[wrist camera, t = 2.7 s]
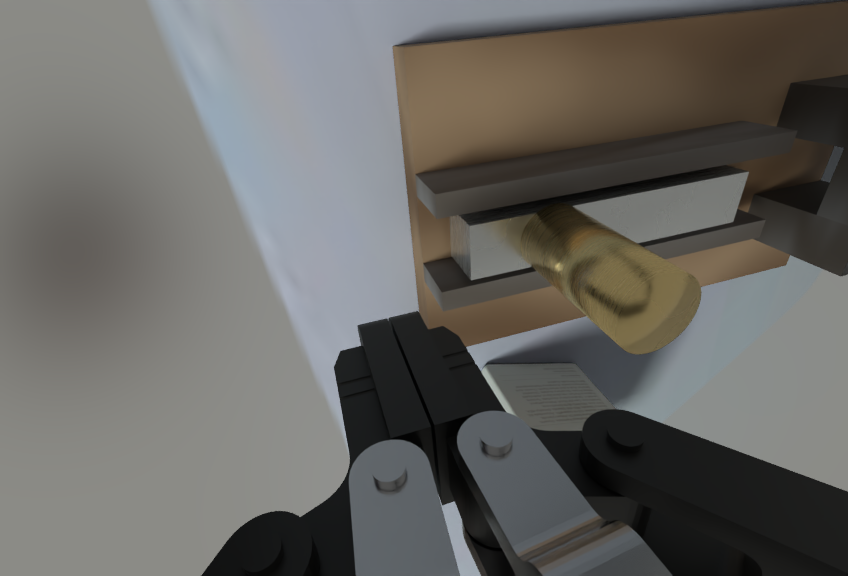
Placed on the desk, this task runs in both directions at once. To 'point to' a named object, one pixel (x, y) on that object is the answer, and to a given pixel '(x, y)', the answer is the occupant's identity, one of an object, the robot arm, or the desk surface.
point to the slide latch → (607, 249)
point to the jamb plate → (626, 143)
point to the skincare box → (546, 394)
